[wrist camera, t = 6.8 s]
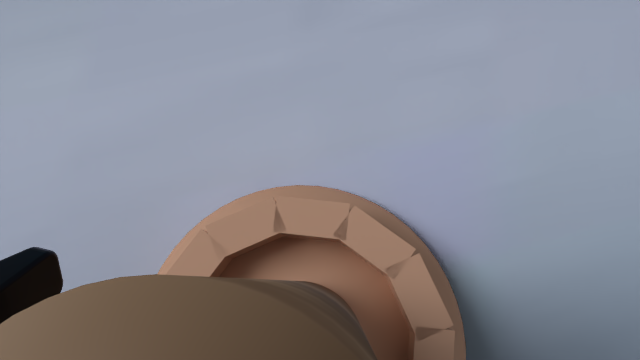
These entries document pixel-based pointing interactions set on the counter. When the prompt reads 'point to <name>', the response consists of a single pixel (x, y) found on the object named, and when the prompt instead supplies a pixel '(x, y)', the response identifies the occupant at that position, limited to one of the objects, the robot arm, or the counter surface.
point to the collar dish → (334, 263)
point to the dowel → (187, 322)
